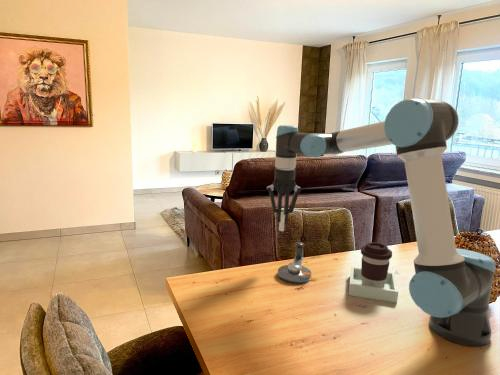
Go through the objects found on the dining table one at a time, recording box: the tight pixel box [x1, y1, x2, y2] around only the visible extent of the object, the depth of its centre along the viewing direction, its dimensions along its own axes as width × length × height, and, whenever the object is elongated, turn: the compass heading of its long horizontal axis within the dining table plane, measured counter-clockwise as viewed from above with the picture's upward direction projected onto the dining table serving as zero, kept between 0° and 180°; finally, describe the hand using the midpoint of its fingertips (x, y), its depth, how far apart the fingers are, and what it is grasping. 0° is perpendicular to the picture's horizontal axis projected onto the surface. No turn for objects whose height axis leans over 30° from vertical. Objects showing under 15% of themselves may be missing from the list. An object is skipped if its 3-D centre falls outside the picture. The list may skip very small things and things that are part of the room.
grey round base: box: [277, 264, 318, 285], centre depth 136 cm, size 12×14×2 cm
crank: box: [287, 241, 305, 274], centre depth 139 cm, size 13×5×7 cm, turn 163°
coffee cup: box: [360, 241, 393, 288], centre depth 127 cm, size 10×10×15 cm
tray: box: [348, 266, 399, 304], centre depth 128 cm, size 15×15×4 cm
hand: (281, 229), depth 141 cm, fingers closed
